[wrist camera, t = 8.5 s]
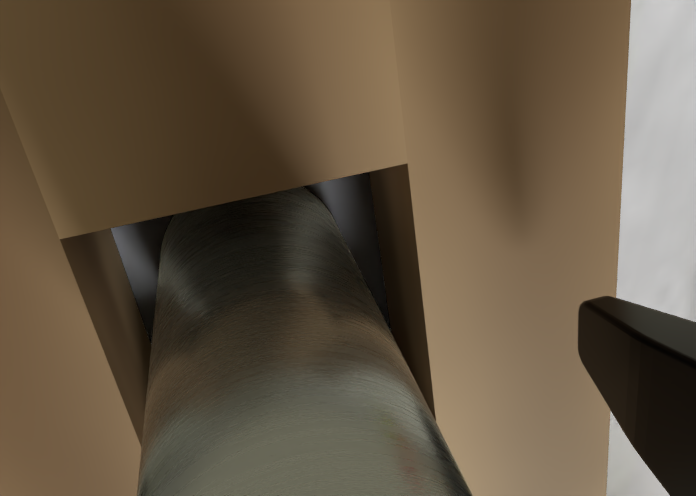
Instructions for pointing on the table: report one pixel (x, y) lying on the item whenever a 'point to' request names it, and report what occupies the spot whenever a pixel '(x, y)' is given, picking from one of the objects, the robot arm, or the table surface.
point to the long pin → (279, 366)
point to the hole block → (309, 168)
